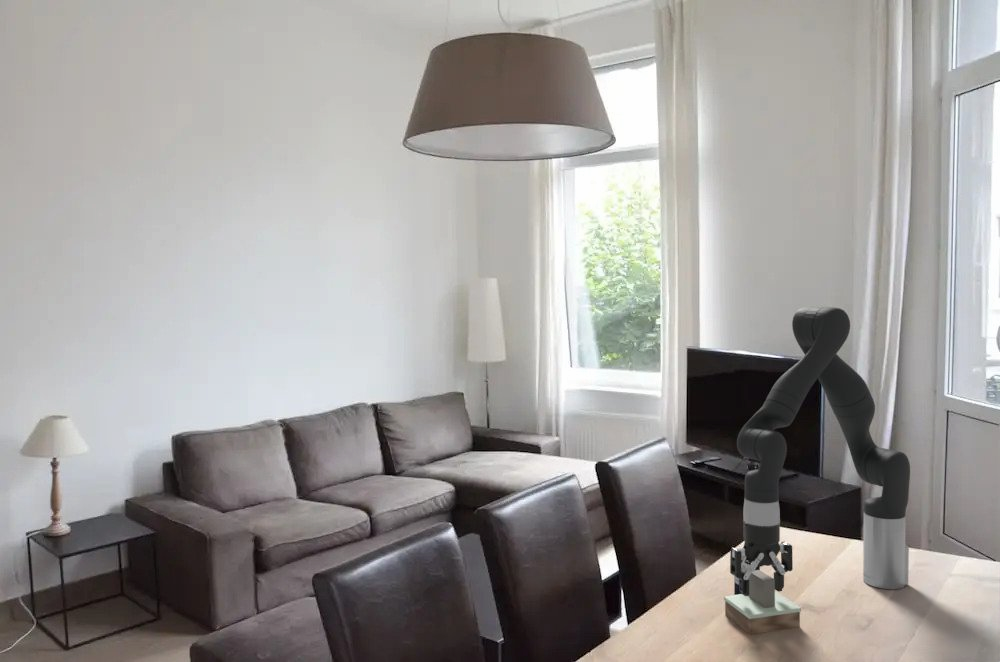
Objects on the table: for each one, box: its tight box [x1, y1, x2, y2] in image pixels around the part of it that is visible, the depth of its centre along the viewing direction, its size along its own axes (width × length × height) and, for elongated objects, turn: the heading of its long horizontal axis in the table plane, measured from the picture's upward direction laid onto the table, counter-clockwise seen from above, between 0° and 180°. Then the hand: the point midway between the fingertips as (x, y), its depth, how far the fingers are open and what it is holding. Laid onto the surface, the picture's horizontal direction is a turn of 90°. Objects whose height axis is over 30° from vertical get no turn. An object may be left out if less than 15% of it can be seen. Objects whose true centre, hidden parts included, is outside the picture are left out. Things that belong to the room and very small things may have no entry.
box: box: [724, 600, 801, 635], centre depth 172 cm, size 12×10×4 cm
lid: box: [723, 570, 802, 619], centre depth 172 cm, size 12×10×7 cm
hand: (761, 592), depth 172 cm, fingers open, 7 cm apart
